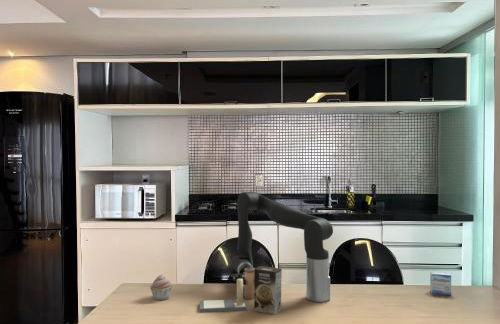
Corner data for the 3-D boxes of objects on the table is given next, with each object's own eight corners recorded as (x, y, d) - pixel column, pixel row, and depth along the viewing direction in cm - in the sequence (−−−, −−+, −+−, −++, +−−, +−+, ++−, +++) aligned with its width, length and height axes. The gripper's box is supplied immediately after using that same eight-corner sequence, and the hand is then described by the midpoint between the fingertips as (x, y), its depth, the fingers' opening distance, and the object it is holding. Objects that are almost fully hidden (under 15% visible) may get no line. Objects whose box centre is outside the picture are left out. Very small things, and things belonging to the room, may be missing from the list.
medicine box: (431, 293, 174) (431, 273, 174) (430, 290, 178) (430, 271, 178) (451, 295, 172) (451, 275, 172) (449, 292, 176) (449, 272, 176)
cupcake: (174, 300, 164) (174, 276, 164) (151, 303, 161) (151, 278, 161) (170, 293, 173) (170, 270, 173) (148, 296, 170) (148, 272, 170)
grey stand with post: (244, 302, 162) (244, 274, 162) (246, 310, 153) (246, 281, 153) (199, 304, 160) (199, 276, 160) (199, 312, 151) (199, 282, 151)
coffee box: (253, 311, 153) (253, 268, 153) (260, 305, 158) (260, 265, 158) (275, 315, 148) (275, 271, 148) (281, 309, 154) (282, 268, 154)
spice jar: (254, 295, 171) (254, 267, 171) (256, 299, 166) (256, 269, 166) (243, 295, 170) (243, 267, 170) (245, 299, 165) (245, 270, 166)
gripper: (230, 264, 181) (233, 274, 164) (261, 263, 183) (267, 273, 166) (230, 280, 181) (233, 292, 164) (261, 279, 183) (267, 291, 166)
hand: (250, 282), depth 165 cm, fingers closed on spice jar, 4 cm apart
